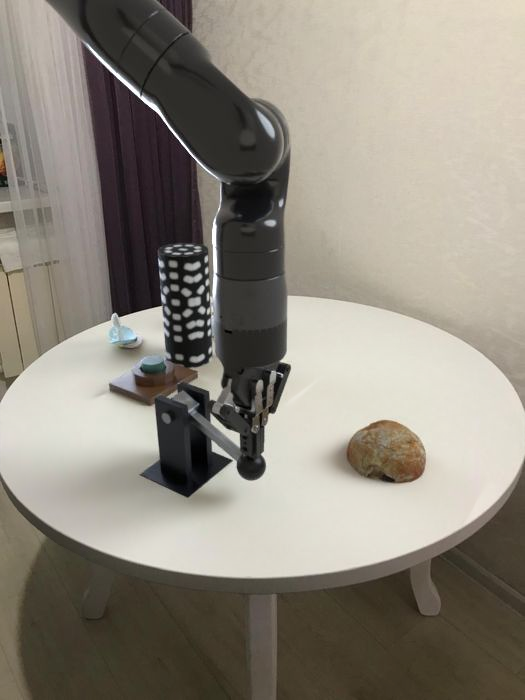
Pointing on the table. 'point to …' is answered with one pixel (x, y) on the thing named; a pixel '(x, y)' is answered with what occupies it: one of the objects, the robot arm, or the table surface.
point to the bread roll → (387, 452)
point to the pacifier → (122, 334)
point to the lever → (223, 440)
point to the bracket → (183, 445)
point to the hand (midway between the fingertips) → (252, 453)
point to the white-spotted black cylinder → (186, 303)
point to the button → (152, 364)
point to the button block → (152, 382)
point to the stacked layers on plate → (212, 317)
